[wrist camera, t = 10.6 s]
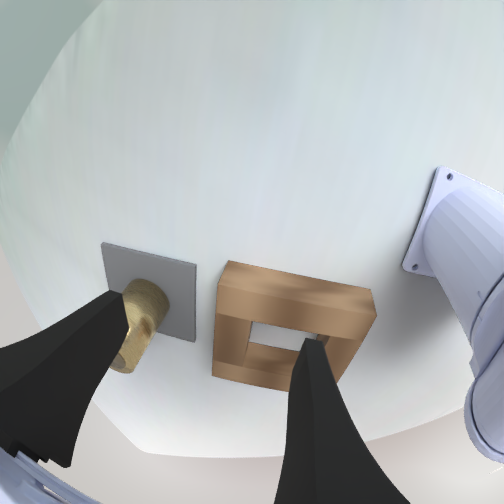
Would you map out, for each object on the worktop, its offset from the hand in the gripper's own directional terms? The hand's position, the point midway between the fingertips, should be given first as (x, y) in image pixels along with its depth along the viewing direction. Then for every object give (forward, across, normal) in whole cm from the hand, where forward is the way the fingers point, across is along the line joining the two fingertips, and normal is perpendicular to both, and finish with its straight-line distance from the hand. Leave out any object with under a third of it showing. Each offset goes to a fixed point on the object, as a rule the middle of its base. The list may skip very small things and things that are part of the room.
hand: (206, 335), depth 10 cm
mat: (+10, +8, +9) cm, 16 cm away
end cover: (+10, +8, +9) cm, 16 cm away
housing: (+10, -4, +9) cm, 14 cm away
